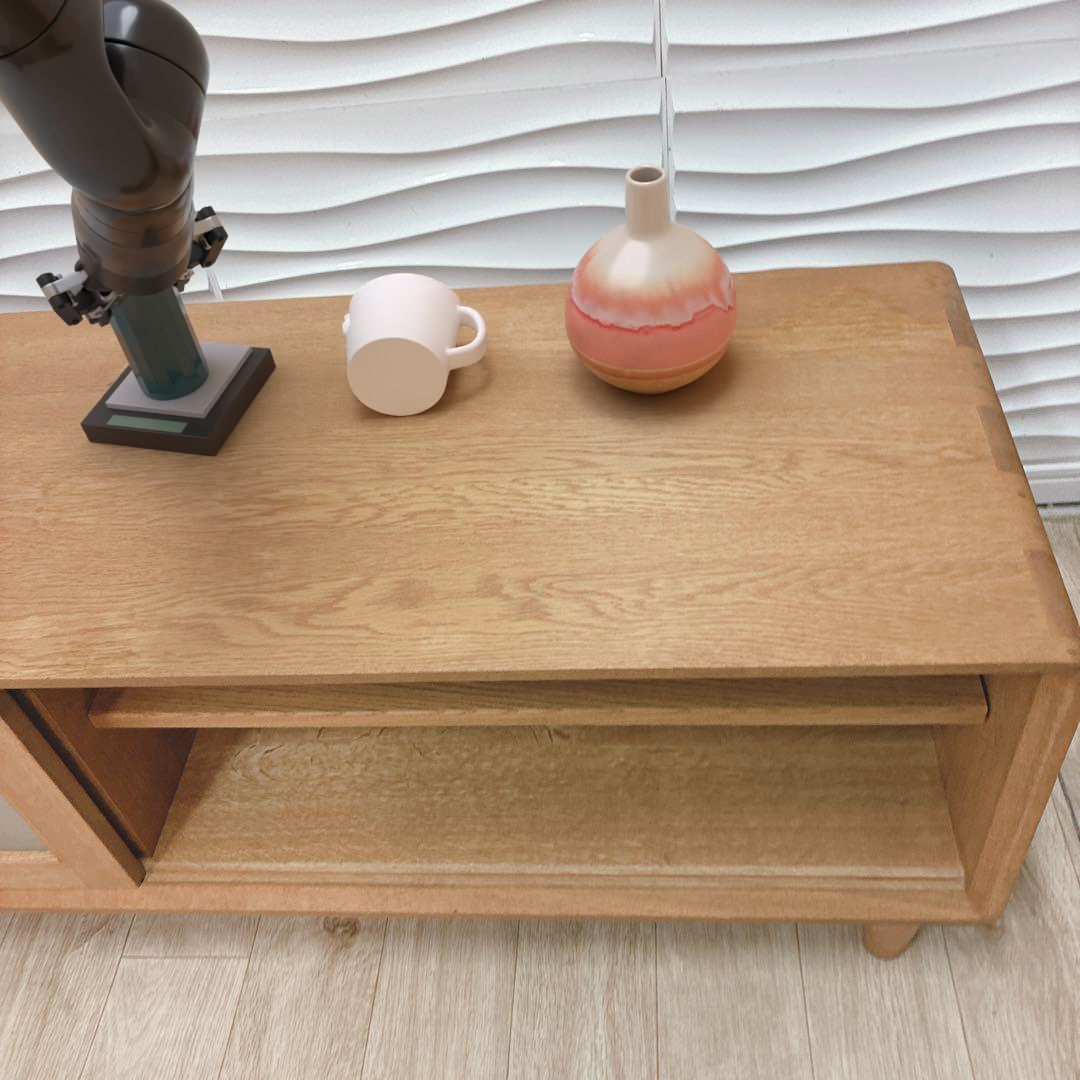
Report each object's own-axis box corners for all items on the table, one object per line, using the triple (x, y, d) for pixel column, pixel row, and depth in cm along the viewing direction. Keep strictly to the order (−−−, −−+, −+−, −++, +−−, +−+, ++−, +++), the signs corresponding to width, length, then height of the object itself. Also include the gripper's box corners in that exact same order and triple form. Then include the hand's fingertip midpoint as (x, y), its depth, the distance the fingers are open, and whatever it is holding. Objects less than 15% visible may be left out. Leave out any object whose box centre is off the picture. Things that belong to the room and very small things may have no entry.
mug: (349, 421, 89) (326, 342, 83) (359, 353, 96) (339, 276, 90) (493, 408, 88) (479, 328, 83) (493, 340, 95) (481, 262, 89)
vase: (741, 419, 85) (751, 216, 72) (568, 427, 86) (547, 230, 73) (728, 317, 94) (734, 122, 81) (572, 326, 95) (554, 135, 83)
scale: (215, 456, 88) (204, 432, 86) (89, 441, 91) (76, 418, 89) (276, 366, 96) (268, 342, 94) (158, 355, 98) (148, 332, 97)
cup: (189, 403, 89) (140, 289, 81) (128, 397, 90) (74, 285, 82) (221, 360, 92) (177, 248, 84) (161, 355, 94) (113, 244, 86)
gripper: (204, 131, 74) (193, 223, 89) (-2, 211, 69) (25, 293, 84) (260, 230, 74) (239, 303, 90) (59, 316, 69) (75, 377, 85)
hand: (136, 298), depth 87 cm, fingers closed on cup, 6 cm apart
